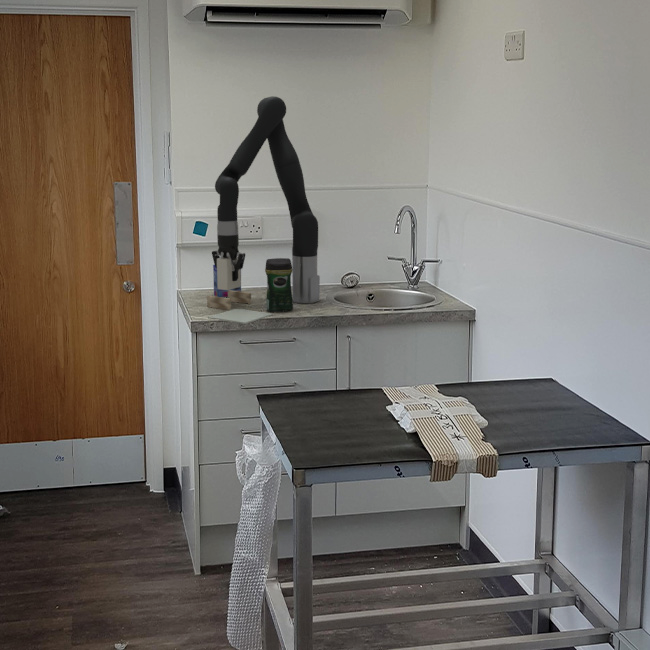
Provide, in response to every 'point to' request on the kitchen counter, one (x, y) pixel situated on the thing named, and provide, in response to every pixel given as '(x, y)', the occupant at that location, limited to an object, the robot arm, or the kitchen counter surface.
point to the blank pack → (226, 275)
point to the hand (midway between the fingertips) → (229, 279)
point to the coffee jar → (279, 285)
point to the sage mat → (240, 316)
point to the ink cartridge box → (218, 291)
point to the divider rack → (228, 300)
